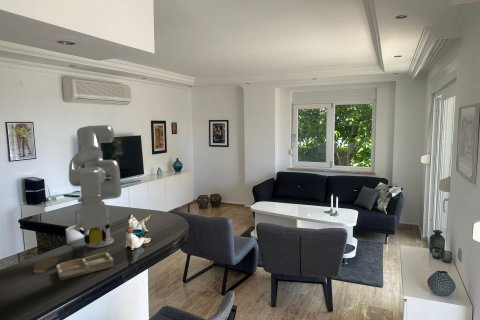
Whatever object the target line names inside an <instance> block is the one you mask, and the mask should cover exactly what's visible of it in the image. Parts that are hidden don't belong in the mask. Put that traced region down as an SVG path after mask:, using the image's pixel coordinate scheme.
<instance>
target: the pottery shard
mask: <svg viewBox="0 0 480 320" xmlns="http://www.w3.org/2000/svg"><path fill="white" fill-rule="evenodd" d="M62 259H63V257H62V256H61V257H55V258H53V257H51V258H50V257H49V258H47V259H44V260H42V261H39V262H36V263H35V264H34V265H33V266H32V268H33V270H32V273H33V274H42V273H45V272H46V271H47V270H49V269H51V268H53V267H54V266H56V264H59V262H60V261H62Z"/></svg>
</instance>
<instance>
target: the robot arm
mask: <svg viewBox="0 0 480 320" xmlns="http://www.w3.org/2000/svg"><path fill="white" fill-rule="evenodd" d="M76 137H77V141H78V144H79V146H80V151H78V152H76V153H75V154H74V156H73V157H72V158H71V160H70V162H69V165H68V181H69V183H70V185H71V186H73V187H80V195H81V197H80V198H77V202H78V203H81V204H80V207H79V221H78V222H77V223H76V224H75V226H74V228H73V229H74V231H76V232H78V233H80V234H82V235H83V240H84V241H83V242H84V244H86V247H88V248H90V249H91V248H92V249H93V248H94V249H98V248H103V247H107V246H109V245H112V244H113V243H114V241H115V239H114V238H113V237H111V234H110V233H111V230H110V227H111V225H112V224H114V220H112V219H111V218H110V217H109V209H108V206H107V205H106V203H105V201H104V200H111V199H112V200H114V199H118V198H120V197H121V195H122V185H121V184H122V183H121V182H122V181H121V171H120V165H119V163H118V161H116V160H114V159H104V158H103V151H102V150H101V149H102V148H101V144H102V143H104V144H105V143H106V144H107V143H112V142H113V141H114V139H115V131H114V128H113V126H111V125H109V124H106V125H105V124H103V125H100V124H99V125H87V126H82V127H80V128H78V129H77V131H76ZM82 165H84V167H81V166H82ZM79 167H81V168H79ZM80 227H81V228H82V229H81V228H80ZM96 227H97V228H99V229H100V230H101V232H102V240H101V242H100V243H98V244H97V245H94V244H91V243H90V242H89V235H88V233H89V231H90V229H92V228H96Z"/></svg>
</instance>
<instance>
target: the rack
mask: <svg viewBox="0 0 480 320" xmlns="http://www.w3.org/2000/svg"><path fill="white" fill-rule="evenodd" d="M114 260H115V259H114V258H113V257H112V255H111V254H109V252H108V251H105V252H102V253H98V254H94V255H90V256H86V257H82V258H77V259H73V260H69V261H64V262H60V263H57V264H56V265H55V266H56V273H57V275H58V278H59V279H60V281H65V280H68V279H72V278H76V277H80V276H84V275H88V274H90V273H91V274H92V273H94V272H98V271H102V270H106V269H110V268H113V267H115V261H114Z"/></svg>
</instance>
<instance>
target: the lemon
mask: <svg viewBox="0 0 480 320" xmlns="http://www.w3.org/2000/svg"><path fill="white" fill-rule="evenodd" d="M87 234H88V235H89V242H90V243H91V244H94V245H97V244H98V243H100V242H101V240H102V232H101V230H100V229H99V228H97V227H96V228H92V229H90V231H89V230H88V233H87Z"/></svg>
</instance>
